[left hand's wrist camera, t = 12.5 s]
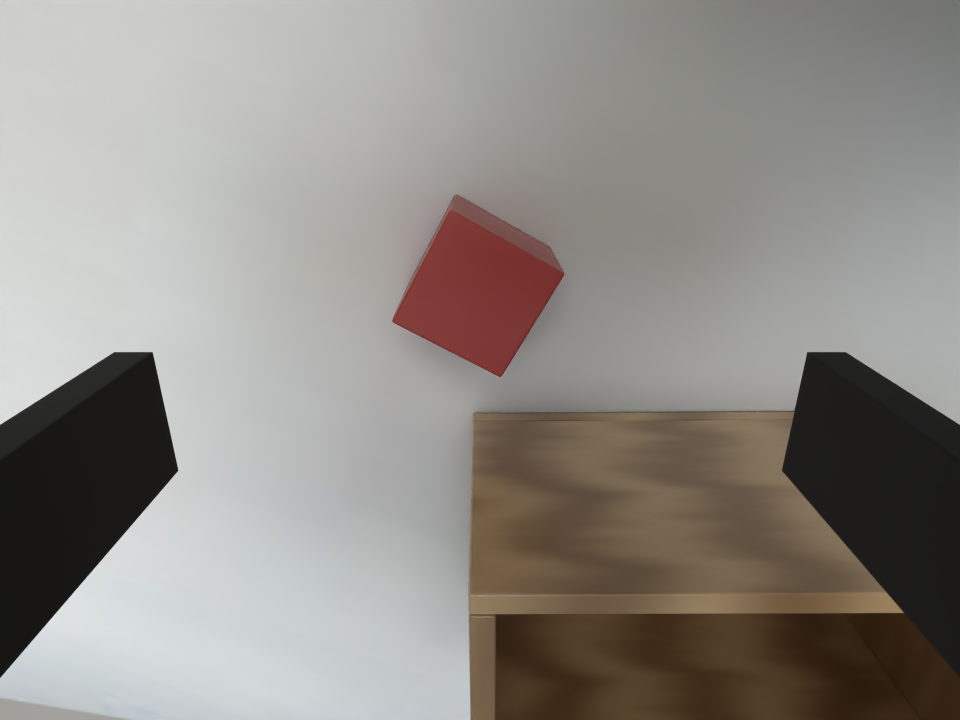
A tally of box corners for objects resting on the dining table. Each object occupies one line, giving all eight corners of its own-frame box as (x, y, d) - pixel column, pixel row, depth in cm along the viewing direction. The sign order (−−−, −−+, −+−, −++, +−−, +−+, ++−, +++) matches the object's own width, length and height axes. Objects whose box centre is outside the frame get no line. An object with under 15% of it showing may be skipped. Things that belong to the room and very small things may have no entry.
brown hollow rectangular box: (475, 583, 30) (472, 819, 20) (473, 412, 26) (468, 594, 16) (824, 582, 30) (997, 818, 20) (870, 410, 26) (1109, 592, 16)
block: (405, 288, 24) (391, 322, 20) (455, 193, 23) (450, 209, 19) (497, 337, 25) (500, 378, 21) (551, 247, 24) (565, 273, 20)
